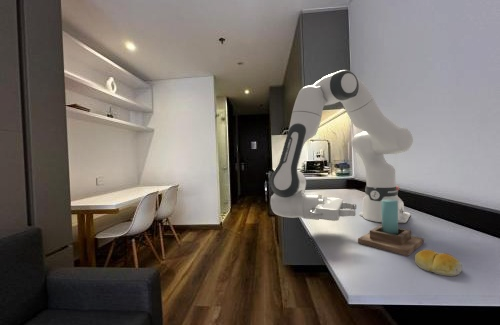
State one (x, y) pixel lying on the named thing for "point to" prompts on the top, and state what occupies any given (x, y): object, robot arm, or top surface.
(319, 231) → the top surface
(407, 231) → the walnut base
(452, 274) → the bread roll
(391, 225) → the teal post
